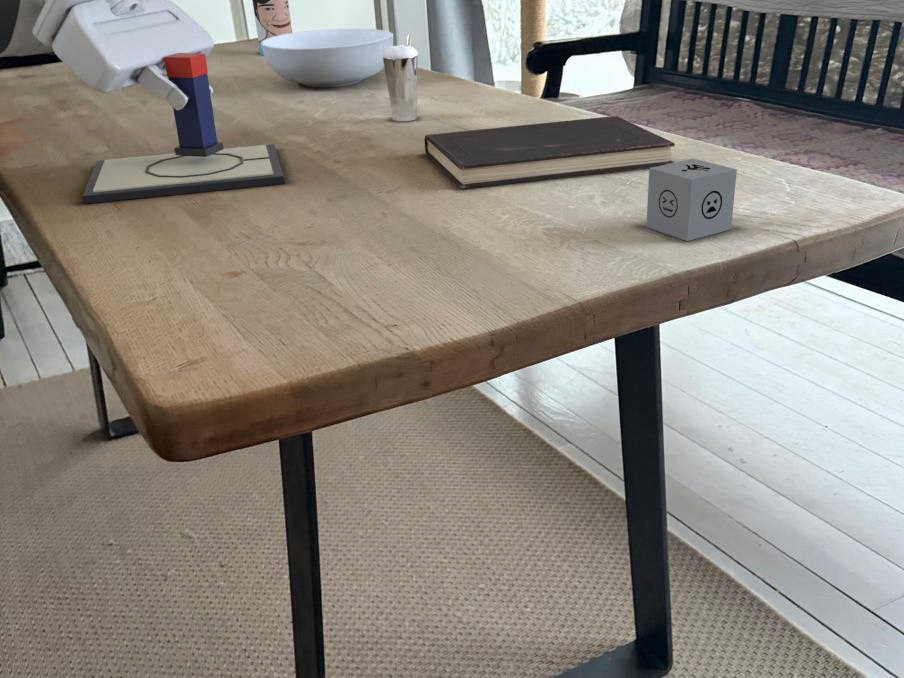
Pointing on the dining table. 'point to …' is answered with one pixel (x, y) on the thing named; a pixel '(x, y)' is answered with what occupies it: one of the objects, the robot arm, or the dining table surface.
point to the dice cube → (690, 198)
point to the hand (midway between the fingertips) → (196, 101)
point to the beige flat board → (183, 174)
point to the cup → (271, 19)
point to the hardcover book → (545, 151)
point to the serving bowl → (327, 55)
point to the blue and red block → (193, 105)
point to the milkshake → (402, 80)
